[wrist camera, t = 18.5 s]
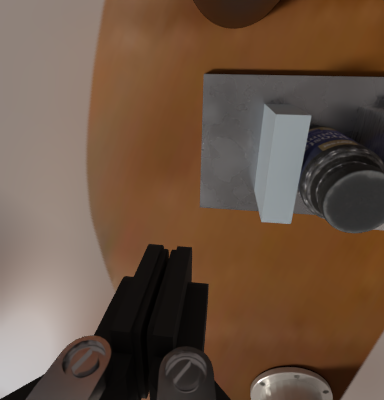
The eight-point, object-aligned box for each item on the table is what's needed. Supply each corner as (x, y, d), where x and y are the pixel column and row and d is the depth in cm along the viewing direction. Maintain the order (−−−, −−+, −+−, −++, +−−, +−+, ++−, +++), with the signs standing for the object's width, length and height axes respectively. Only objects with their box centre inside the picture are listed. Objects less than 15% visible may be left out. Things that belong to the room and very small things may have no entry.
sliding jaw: (277, 191, 30) (290, 223, 24) (254, 190, 30) (261, 221, 24) (291, 104, 26) (311, 115, 20) (264, 103, 27) (276, 114, 20)
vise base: (366, 214, 31) (408, 257, 24) (200, 203, 33) (193, 240, 26) (410, 77, 25) (484, 80, 18) (204, 73, 27) (196, 75, 20)
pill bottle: (328, 112, 26) (389, 137, 16) (358, 161, 28) (430, 213, 18) (271, 150, 28) (294, 194, 18) (302, 195, 30) (339, 256, 20)
